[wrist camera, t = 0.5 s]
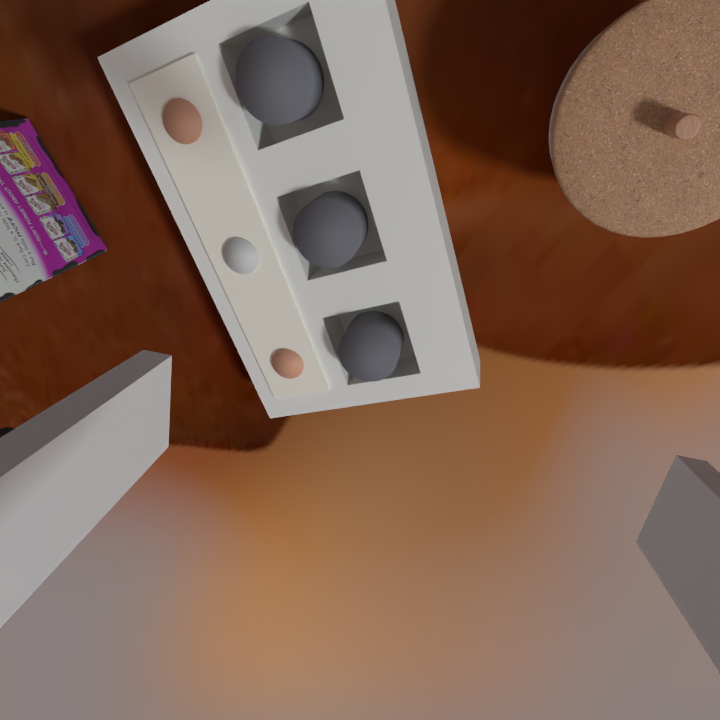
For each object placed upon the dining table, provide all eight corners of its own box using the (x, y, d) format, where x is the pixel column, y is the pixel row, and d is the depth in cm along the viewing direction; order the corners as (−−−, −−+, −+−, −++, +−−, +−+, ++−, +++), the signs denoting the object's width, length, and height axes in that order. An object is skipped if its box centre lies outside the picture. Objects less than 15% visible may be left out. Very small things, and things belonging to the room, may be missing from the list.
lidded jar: (568, 232, 33) (594, 281, 25) (511, 72, 29) (522, 70, 21) (754, 155, 29) (857, 185, 21) (717, -45, 25) (825, -101, 17)
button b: (356, 182, 32) (346, 191, 29) (376, 245, 34) (367, 259, 31) (297, 201, 33) (282, 211, 31) (319, 260, 35) (307, 275, 33)
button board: (380, -60, 27) (364, -82, 24) (480, 360, 39) (479, 391, 35) (136, 59, 34) (91, 57, 30) (285, 392, 45) (267, 421, 42)
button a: (309, 26, 28) (292, 21, 26) (334, 107, 30) (320, 110, 27) (245, 55, 30) (222, 53, 27) (272, 130, 31) (254, 135, 29)
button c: (394, 305, 36) (387, 322, 33) (410, 356, 38) (404, 376, 35) (340, 317, 37) (329, 334, 35) (357, 365, 39) (349, 385, 37)
